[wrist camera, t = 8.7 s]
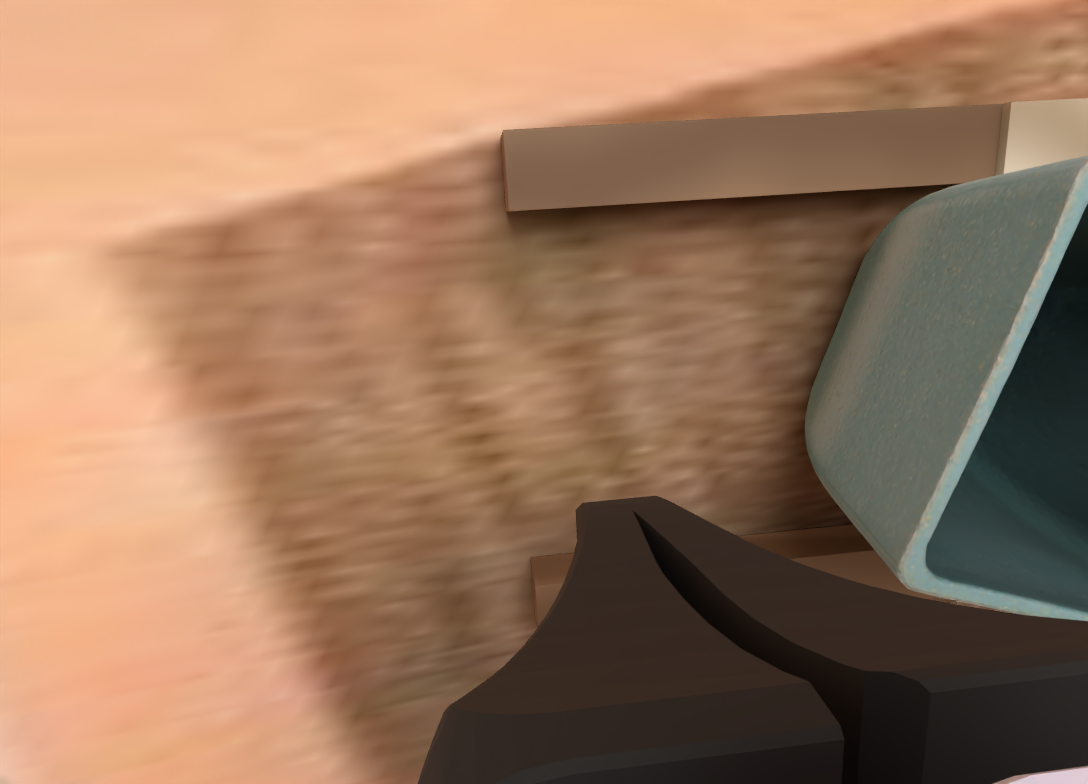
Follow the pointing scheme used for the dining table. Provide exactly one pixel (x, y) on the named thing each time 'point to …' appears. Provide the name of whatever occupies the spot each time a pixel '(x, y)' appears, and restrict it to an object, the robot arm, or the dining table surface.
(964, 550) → the flower pot
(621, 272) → the dining table surface
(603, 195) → the wooden frame
